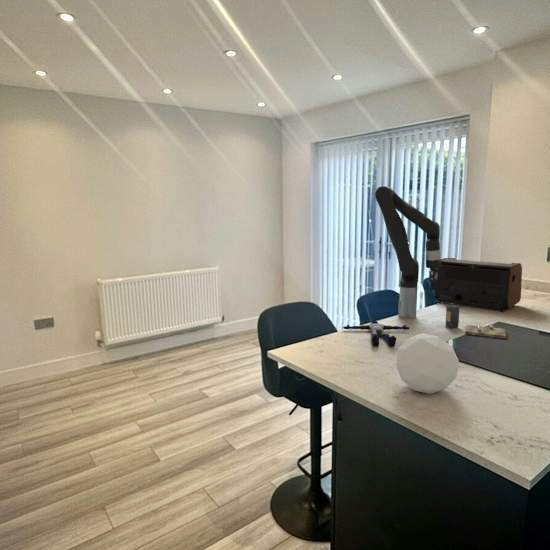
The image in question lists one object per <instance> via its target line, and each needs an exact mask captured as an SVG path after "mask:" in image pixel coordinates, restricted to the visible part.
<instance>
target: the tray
mask: <svg viewBox="0 0 550 550" xmlns="http://www.w3.org/2000/svg"><path fill="white" fill-rule="evenodd" d="M467 334H472V335H471V336H475V335H483V336H482V337H484V336H490V337H489V338H493V337H497V338H496V339H501V338H505V339H504V340H506V339H507V335H506V328H501V327H494V324H489V326H483V325H473V324H472V325H471V324H466V325H465V329H464V335H467Z"/></svg>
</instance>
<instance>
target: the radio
mask: <svg viewBox="0 0 550 550" xmlns="http://www.w3.org/2000/svg"><path fill="white" fill-rule="evenodd" d="M437 271H438V278H437V287H435V290H434V295H433V298H434V299H435V301H437V302H439V303H446V304H450V305H456V306H463V307H470V308H475V309H481V310H482V309H483V310H487V311H493V312H501V313H502V312H506V311H508V310H509V309H511V308H512V307H513V306H515V305H517V304H519V303H520V301H521V299H522V280H523V279H522V276H523V266H522V264H521V263H520V262H511V263H503V262H491V261H479V260H465V259H456V258H454V257H444V258H441V267H440V268H438V269H437Z"/></svg>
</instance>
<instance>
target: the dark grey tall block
mask: <svg viewBox="0 0 550 550" xmlns="http://www.w3.org/2000/svg"><path fill="white" fill-rule="evenodd" d="M460 307H461V305H456V304H450V305H446V307H445V308H446V311H445V312H446V314H445V315H446V316H445V328H447V329H449V330H450V329H451V330H452V329H458V328H459V324H460V320H459V319H460Z"/></svg>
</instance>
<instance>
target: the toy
mask: <svg viewBox="0 0 550 550" xmlns="http://www.w3.org/2000/svg"><path fill="white" fill-rule="evenodd" d="M342 328H343V330H361V331H362V330H363V331H364V330H367V331H370V332H371V334H370V335H371V339H370V341H371V343H372V345H373V347H374V348H378V347H380V338H379V337H381V338H382V340H385V341H386V344H387V345H388V347H389V348H394V347H395V346H396V343H397V337H396V336H394V335H391V336H390V335H389V334H388V333H387V332H386V330H387V331H390V330H403V331H408V330H410V326H407V324H404V325H402V326H398V325H394V326H392V325H384V324H383V323H379V322H378V321H377V320H376V319H374V320H372V321H371V323H369V324H367V325H366V324H365V325H353V326H350V325H349V324H346V325H345V326H343V327H342Z"/></svg>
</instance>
